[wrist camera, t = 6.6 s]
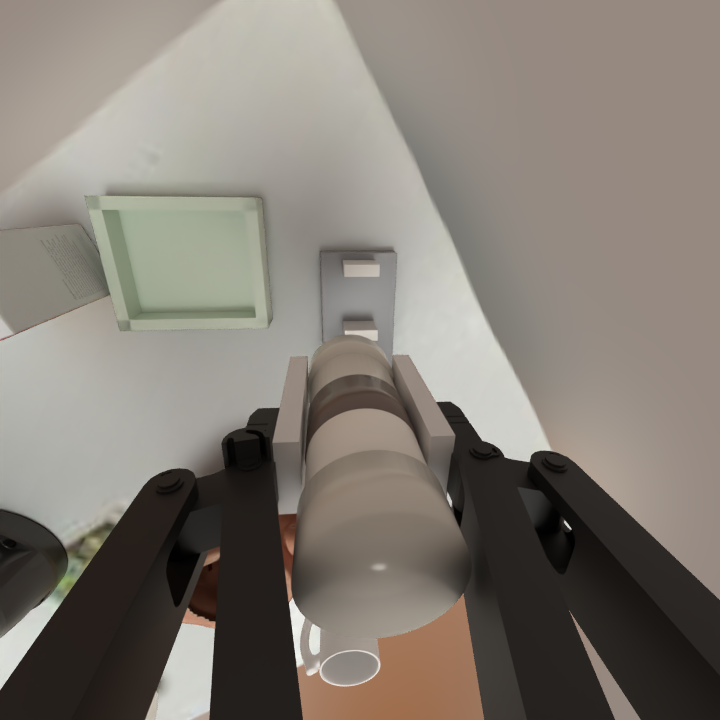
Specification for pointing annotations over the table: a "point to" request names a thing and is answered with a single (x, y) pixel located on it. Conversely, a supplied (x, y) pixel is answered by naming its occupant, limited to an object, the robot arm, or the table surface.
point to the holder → (359, 295)
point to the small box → (46, 275)
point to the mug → (340, 657)
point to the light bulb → (370, 505)
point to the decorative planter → (207, 584)
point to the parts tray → (183, 261)
